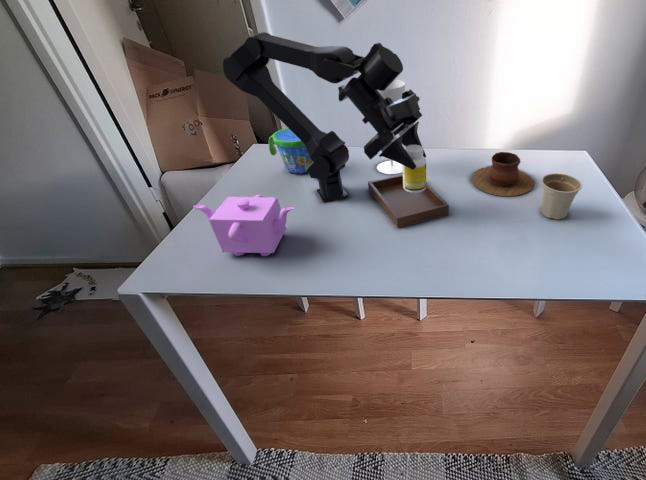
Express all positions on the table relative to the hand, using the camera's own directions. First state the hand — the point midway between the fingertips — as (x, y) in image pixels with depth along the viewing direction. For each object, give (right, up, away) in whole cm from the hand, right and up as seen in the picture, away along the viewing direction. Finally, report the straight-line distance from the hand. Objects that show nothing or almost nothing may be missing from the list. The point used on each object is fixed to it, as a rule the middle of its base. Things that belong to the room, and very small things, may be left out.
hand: (419, 163), depth 87 cm
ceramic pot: (+22, +1, +23) cm, 32 cm away
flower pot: (+33, -10, +11) cm, 36 cm away
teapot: (-35, -19, -3) cm, 40 cm away
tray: (-4, -6, +13) cm, 15 cm away
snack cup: (-36, +5, +25) cm, 44 cm away
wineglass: (-10, +6, +28) cm, 30 cm away
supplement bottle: (-2, -5, +5) cm, 7 cm away
